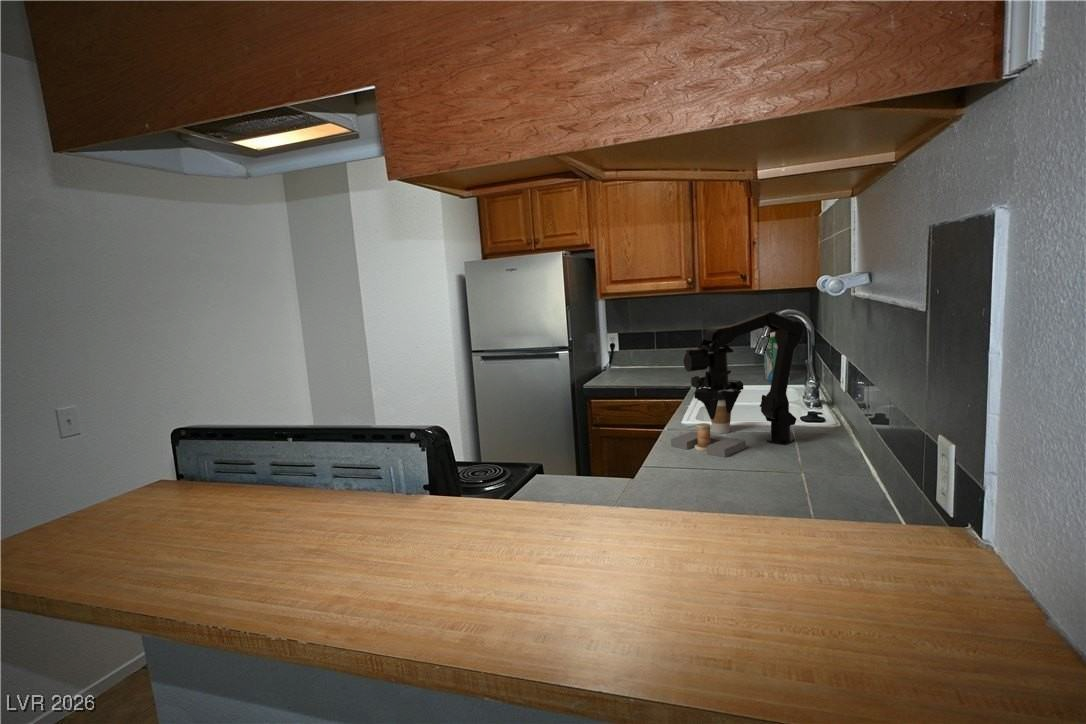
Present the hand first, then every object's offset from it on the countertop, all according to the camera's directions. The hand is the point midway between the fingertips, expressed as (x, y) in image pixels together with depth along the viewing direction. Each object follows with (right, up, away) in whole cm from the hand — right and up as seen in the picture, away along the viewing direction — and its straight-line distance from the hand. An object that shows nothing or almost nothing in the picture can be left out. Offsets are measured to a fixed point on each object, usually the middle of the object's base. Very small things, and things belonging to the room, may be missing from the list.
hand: (720, 416), depth 177 cm
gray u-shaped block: (-3, -11, +5) cm, 12 cm away
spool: (-4, -11, +3) cm, 12 cm away
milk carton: (+64, +8, +110) cm, 127 cm away
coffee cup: (+7, -8, +22) cm, 24 cm away
